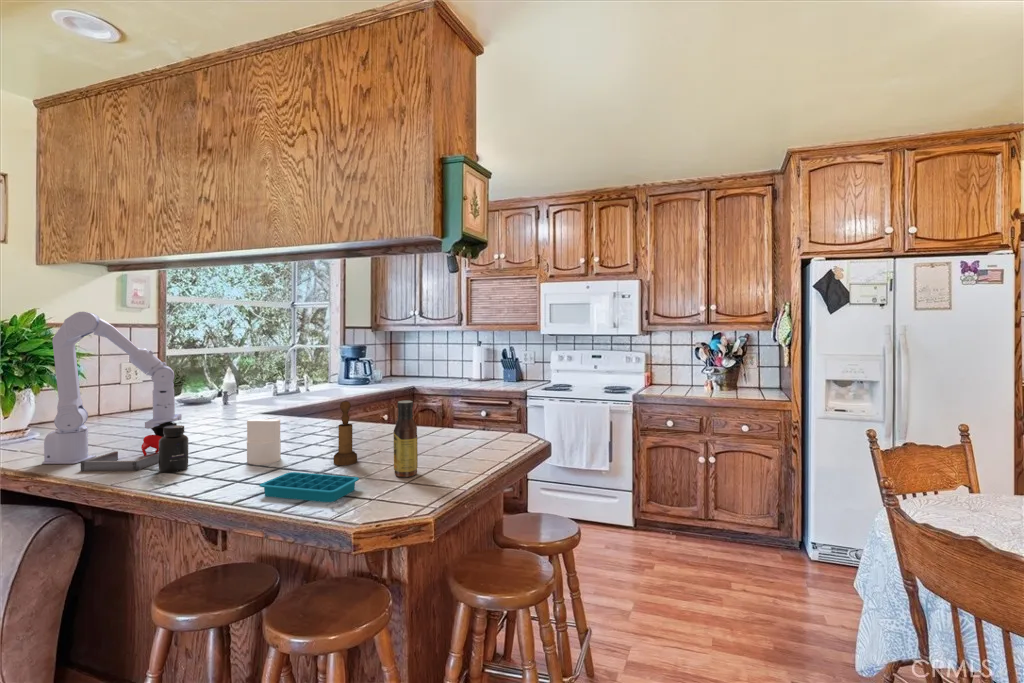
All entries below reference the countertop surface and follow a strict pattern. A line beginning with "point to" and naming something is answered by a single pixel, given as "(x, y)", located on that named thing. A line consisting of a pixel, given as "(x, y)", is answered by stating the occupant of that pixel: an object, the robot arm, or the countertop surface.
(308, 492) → the ice cube tray
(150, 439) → the red curved piece
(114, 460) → the tray
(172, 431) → the supplement bottle
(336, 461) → the brown wooden pepper mill
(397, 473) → the sauce bottle
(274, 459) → the cream upright block
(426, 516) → the countertop surface
